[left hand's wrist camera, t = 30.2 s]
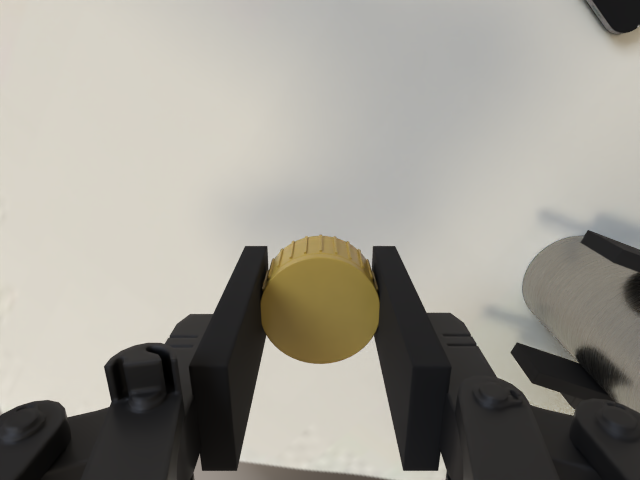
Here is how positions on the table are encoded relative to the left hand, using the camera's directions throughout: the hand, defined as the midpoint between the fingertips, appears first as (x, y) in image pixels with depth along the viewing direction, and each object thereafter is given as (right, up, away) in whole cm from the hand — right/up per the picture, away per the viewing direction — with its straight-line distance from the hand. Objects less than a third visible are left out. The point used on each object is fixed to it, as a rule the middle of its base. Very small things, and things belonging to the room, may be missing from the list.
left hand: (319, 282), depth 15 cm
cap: (0, -1, -2) cm, 2 cm away
